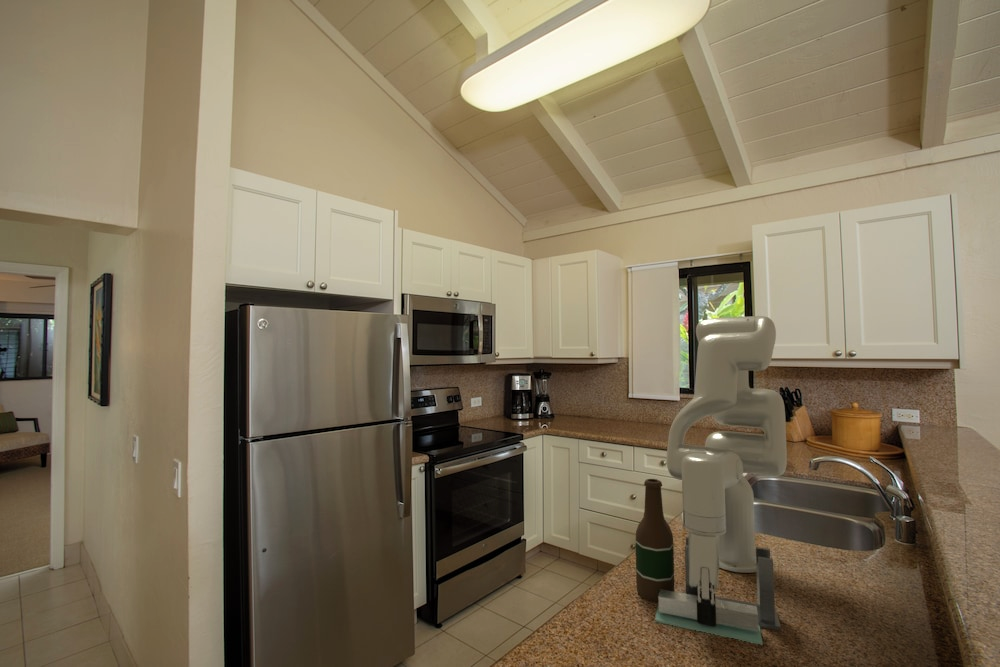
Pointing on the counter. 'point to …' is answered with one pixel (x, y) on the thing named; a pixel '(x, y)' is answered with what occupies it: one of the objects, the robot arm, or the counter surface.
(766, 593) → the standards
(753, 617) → the rail
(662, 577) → the beer bottle
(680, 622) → the mat
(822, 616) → the counter surface
